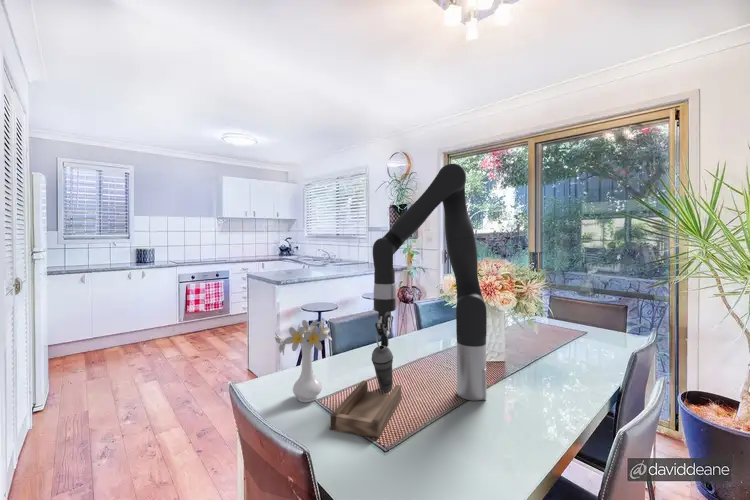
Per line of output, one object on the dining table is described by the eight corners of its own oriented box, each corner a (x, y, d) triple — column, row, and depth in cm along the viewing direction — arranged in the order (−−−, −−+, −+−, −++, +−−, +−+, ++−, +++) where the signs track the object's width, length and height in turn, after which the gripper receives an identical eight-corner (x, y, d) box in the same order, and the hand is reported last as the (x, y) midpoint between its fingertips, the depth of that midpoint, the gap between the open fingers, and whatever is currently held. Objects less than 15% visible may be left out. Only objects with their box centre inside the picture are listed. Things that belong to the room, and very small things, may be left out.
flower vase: (270, 401, 110) (268, 323, 109) (320, 384, 122) (318, 314, 121) (289, 417, 100) (287, 331, 100) (341, 397, 112) (340, 321, 112)
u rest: (402, 397, 111) (402, 385, 111) (378, 438, 89) (378, 423, 89) (361, 392, 116) (361, 380, 116) (329, 429, 93) (329, 415, 93)
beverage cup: (395, 394, 114) (388, 341, 109) (373, 394, 116) (366, 341, 110) (397, 380, 121) (391, 329, 116) (377, 380, 123) (370, 329, 117)
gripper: (389, 300, 110) (389, 354, 111) (400, 293, 123) (400, 342, 123) (367, 299, 113) (367, 351, 113) (380, 292, 125) (380, 340, 126)
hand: (384, 346), depth 118 cm, fingers closed
